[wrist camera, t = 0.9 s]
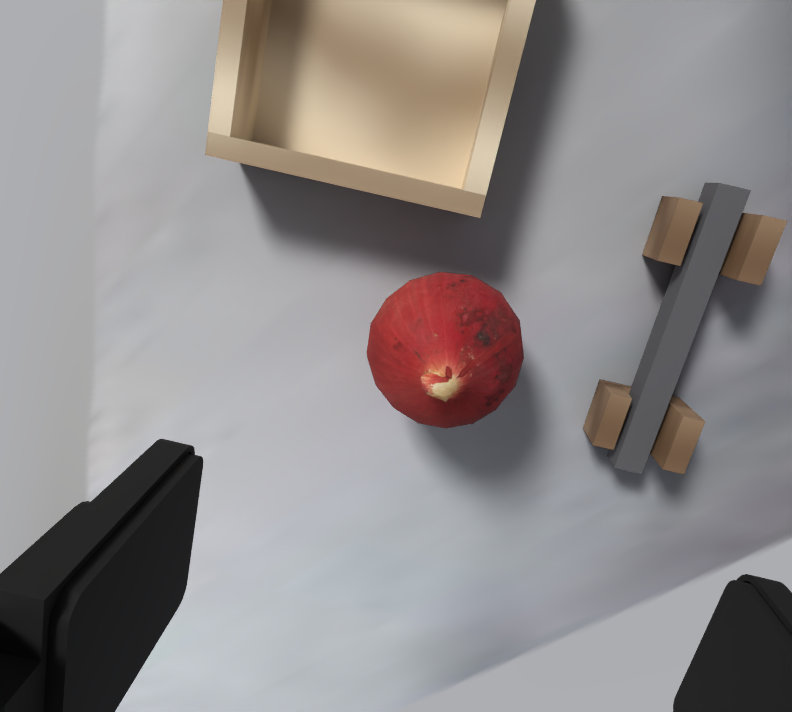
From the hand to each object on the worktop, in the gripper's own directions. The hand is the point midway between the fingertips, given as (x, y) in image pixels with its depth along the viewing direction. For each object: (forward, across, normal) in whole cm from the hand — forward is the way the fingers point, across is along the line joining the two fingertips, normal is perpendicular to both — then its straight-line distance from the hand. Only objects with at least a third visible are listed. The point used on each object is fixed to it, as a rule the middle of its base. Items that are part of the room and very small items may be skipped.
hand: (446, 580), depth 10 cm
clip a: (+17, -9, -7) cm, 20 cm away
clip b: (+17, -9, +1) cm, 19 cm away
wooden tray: (+17, +5, -11) cm, 20 cm away
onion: (+17, 0, 0) cm, 17 cm away
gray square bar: (+17, -9, -3) cm, 19 cm away
